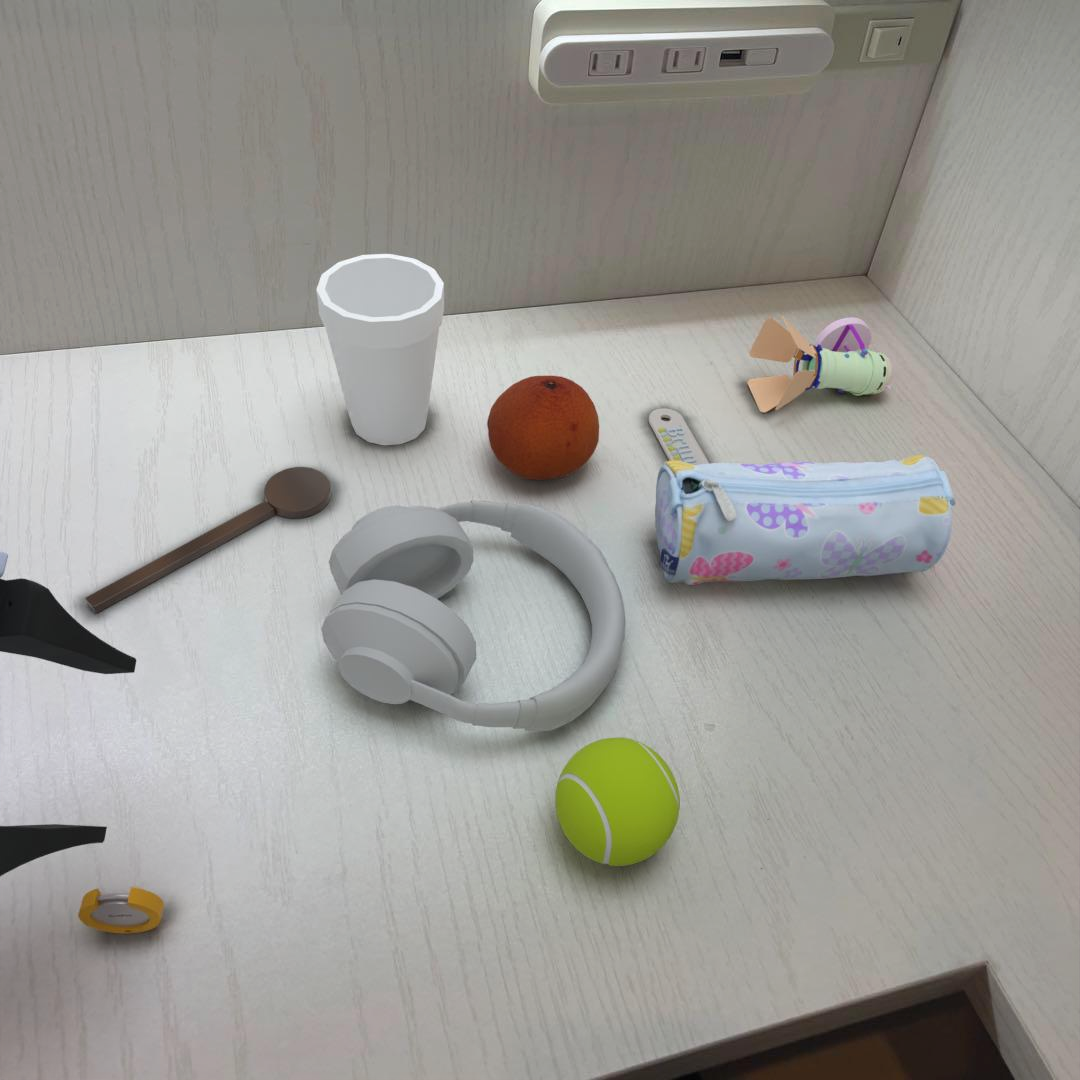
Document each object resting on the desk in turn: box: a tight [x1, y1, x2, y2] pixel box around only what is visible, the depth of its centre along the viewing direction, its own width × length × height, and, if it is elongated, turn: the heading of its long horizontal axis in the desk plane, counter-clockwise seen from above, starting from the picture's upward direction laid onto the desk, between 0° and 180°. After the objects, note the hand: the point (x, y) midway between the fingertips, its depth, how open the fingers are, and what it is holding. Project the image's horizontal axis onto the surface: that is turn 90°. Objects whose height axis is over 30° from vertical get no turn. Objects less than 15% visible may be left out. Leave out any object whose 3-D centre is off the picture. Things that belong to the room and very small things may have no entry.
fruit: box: [486, 375, 600, 481], centre depth 77 cm, size 9×9×8 cm
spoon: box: [85, 466, 332, 614], centre depth 71 cm, size 20×5×1 cm, turn 135°
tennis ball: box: [554, 737, 681, 867], centre depth 55 cm, size 7×7×7 cm
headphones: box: [320, 500, 626, 733], centre depth 65 cm, size 18×8×20 cm
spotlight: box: [747, 315, 894, 413], centre depth 87 cm, size 12×8×8 cm
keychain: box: [648, 407, 710, 465], centre depth 82 cm, size 10×1×3 cm
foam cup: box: [315, 253, 445, 446], centre depth 78 cm, size 10×9×13 cm
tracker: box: [77, 886, 165, 934], centre depth 51 cm, size 4×1×4 cm, turn 94°
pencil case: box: [654, 454, 956, 586], centre depth 70 cm, size 21×9×10 cm, turn 94°
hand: (106, 747), depth 45 cm, fingers open, 7 cm apart
